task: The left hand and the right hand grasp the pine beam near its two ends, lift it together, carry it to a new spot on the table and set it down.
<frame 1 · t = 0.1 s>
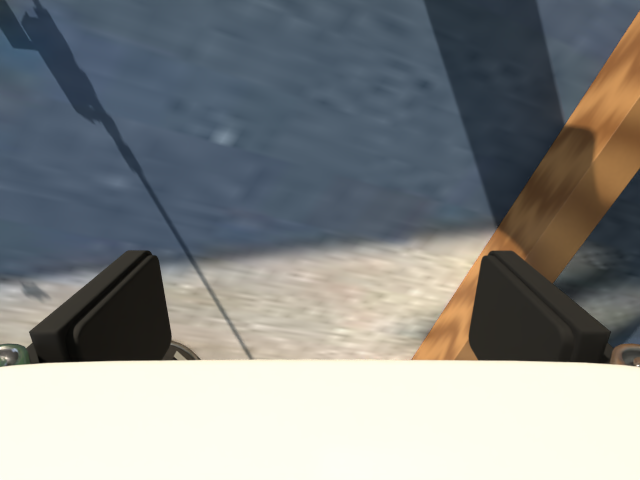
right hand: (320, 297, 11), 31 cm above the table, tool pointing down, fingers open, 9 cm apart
beam: (621, 73, 37), on the table
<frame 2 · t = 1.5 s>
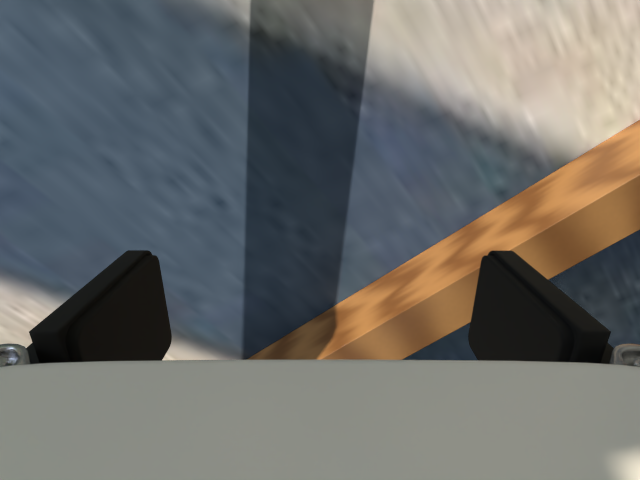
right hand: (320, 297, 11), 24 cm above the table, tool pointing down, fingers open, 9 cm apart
beam: (398, 288, 38), on the table
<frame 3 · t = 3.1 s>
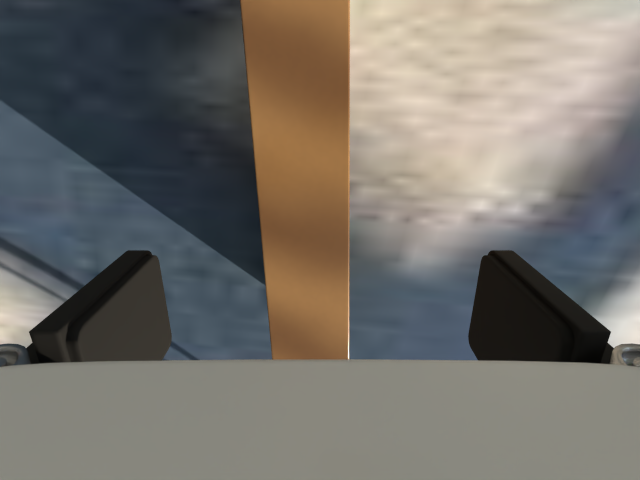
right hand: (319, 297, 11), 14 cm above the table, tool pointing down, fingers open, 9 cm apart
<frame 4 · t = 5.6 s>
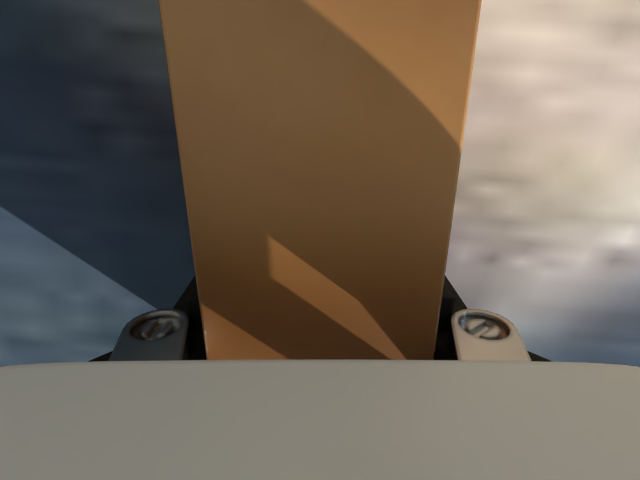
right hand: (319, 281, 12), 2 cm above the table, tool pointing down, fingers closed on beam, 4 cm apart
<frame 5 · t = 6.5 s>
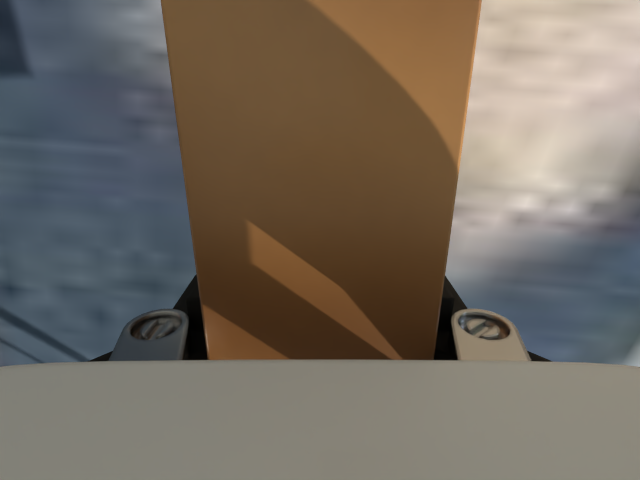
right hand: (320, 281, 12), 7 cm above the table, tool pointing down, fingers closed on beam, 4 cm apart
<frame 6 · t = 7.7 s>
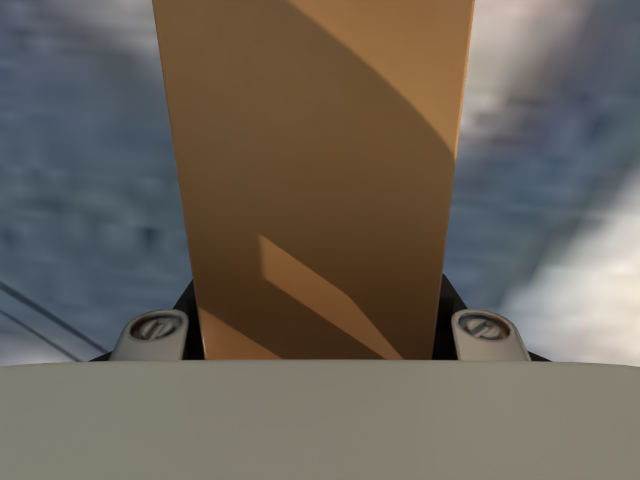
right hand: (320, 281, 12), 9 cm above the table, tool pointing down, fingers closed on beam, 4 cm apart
when the right hand's fingers open (3 cm above the table, at t = 10.3 s): beam drops 1 cm, on the table.
when the left hand's fingers open (4 cm above the table, at t = 10.4 s): beam drops 1 cm, on the table.
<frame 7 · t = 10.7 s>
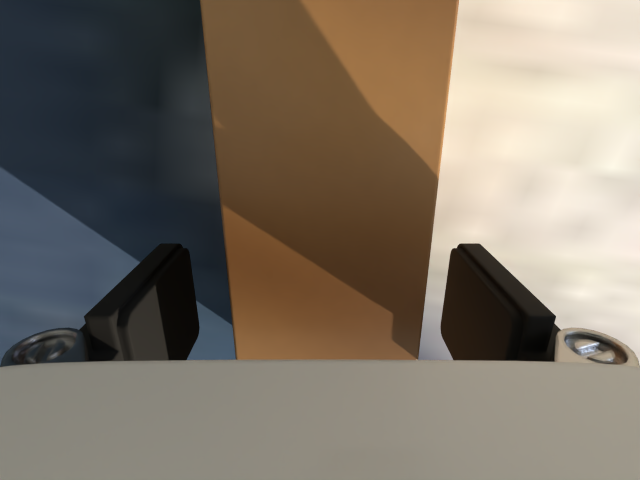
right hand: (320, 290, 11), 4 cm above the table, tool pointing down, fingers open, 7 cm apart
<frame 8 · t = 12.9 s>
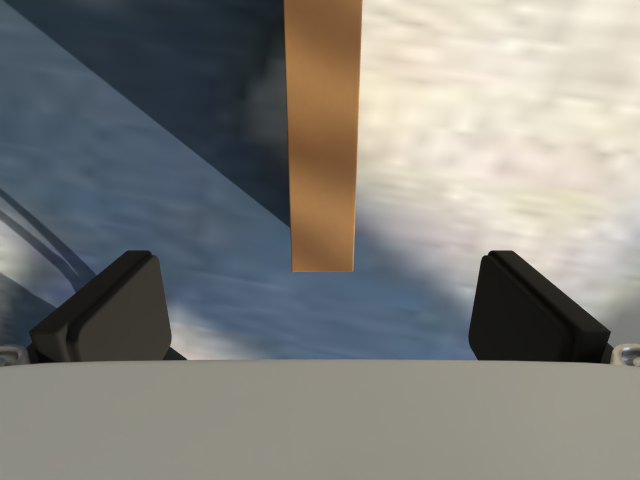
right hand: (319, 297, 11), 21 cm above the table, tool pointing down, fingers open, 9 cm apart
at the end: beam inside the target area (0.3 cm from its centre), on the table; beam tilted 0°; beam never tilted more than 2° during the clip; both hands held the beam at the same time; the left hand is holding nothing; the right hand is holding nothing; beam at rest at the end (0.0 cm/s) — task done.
